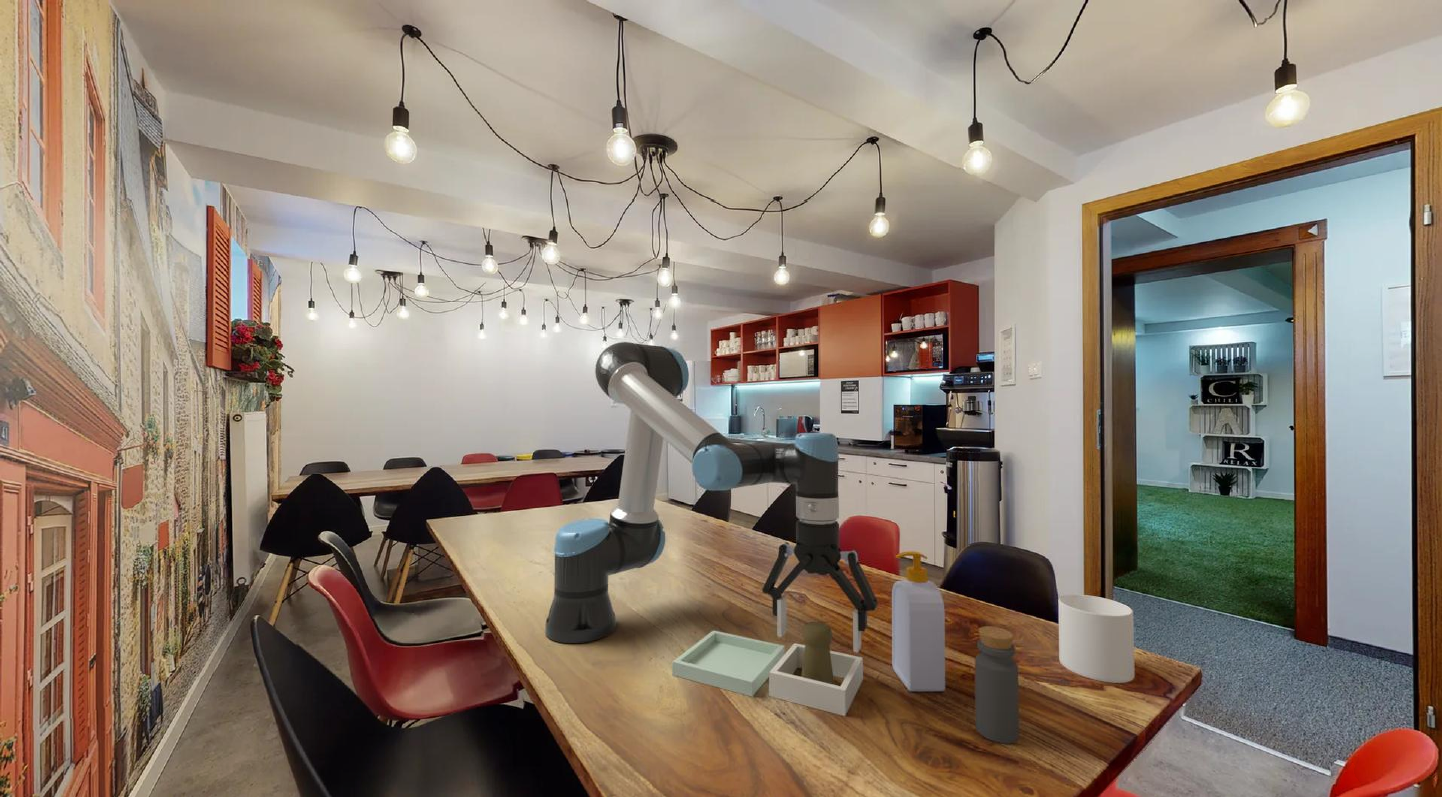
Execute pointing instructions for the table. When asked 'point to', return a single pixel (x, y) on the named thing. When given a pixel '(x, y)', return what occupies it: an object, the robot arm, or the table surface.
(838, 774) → the table surface
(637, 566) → the robot arm
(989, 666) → the bottle
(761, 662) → the tray
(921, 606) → the soap bottle
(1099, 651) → the cup
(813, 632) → the cork
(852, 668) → the frame
